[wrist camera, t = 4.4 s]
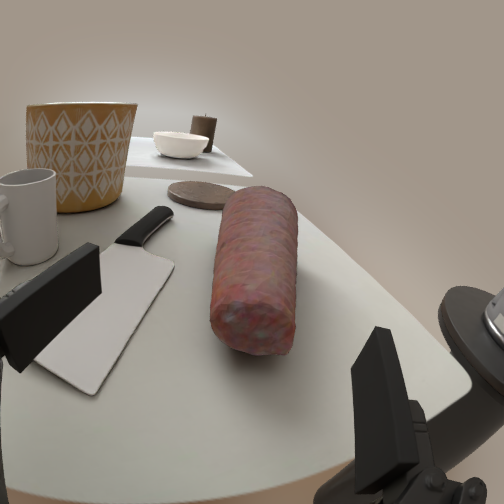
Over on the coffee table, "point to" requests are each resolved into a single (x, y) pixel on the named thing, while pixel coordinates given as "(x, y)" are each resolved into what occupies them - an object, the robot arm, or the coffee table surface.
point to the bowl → (180, 144)
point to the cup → (28, 216)
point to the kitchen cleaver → (111, 308)
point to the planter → (81, 150)
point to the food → (256, 273)
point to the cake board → (200, 194)
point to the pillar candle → (204, 129)
